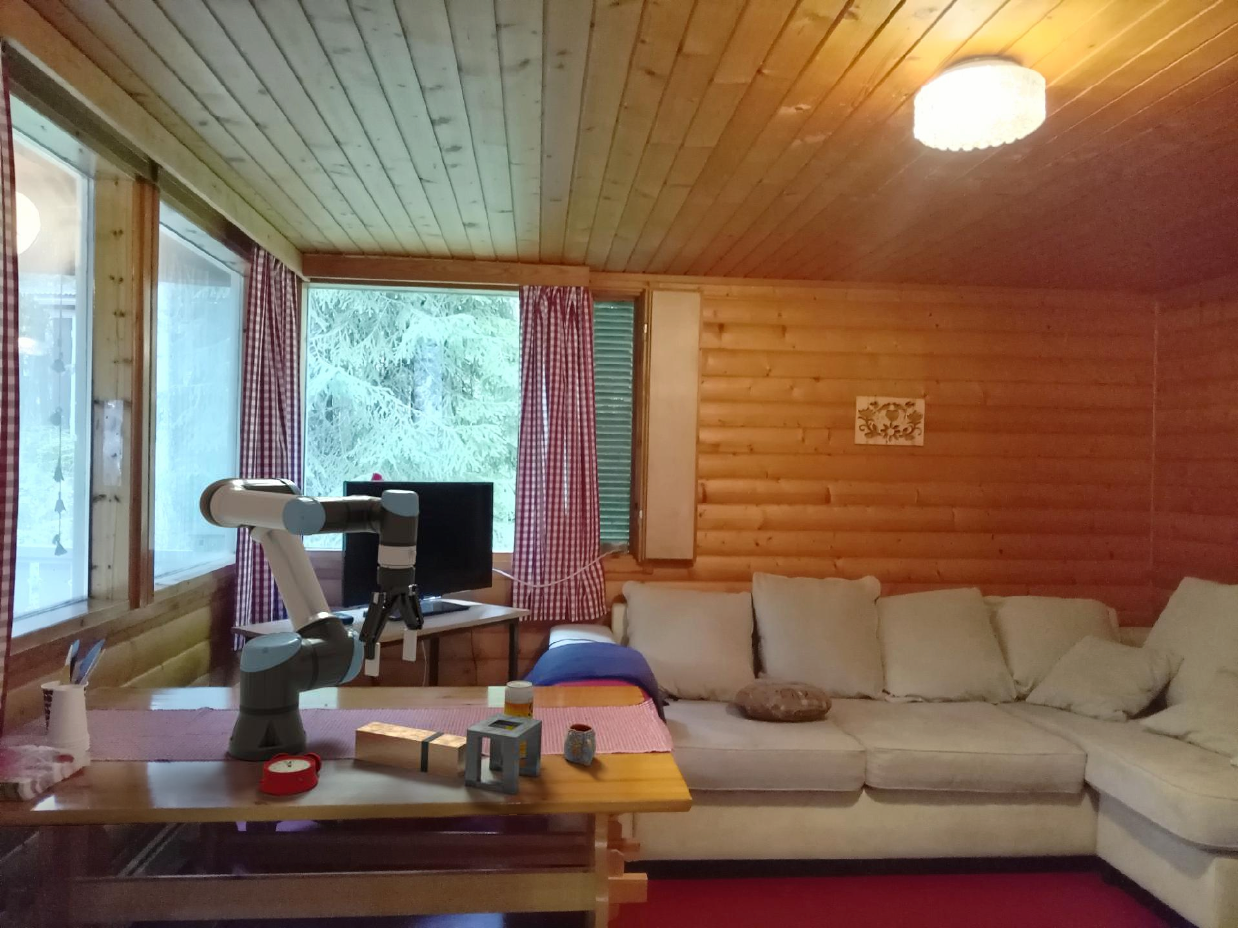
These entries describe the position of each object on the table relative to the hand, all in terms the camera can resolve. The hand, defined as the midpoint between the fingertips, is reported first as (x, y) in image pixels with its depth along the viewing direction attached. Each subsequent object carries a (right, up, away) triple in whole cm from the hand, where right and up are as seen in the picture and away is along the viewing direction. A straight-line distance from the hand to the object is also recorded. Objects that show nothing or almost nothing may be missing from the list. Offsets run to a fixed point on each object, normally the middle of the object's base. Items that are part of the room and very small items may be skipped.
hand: (390, 667), depth 176 cm
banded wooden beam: (+5, -19, -3) cm, 20 cm away
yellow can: (+26, -20, +5) cm, 33 cm away
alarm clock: (-15, -19, -14) cm, 28 cm away
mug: (+39, -21, +2) cm, 44 cm away
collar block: (+25, -20, -10) cm, 33 cm away
